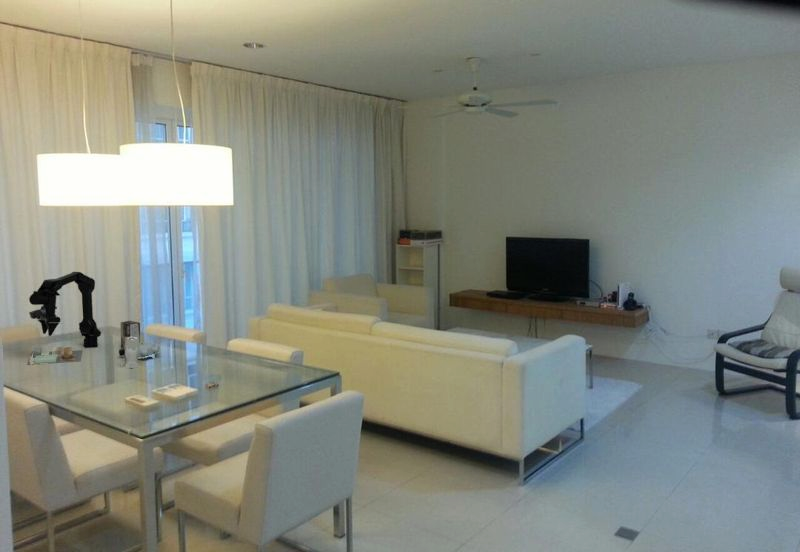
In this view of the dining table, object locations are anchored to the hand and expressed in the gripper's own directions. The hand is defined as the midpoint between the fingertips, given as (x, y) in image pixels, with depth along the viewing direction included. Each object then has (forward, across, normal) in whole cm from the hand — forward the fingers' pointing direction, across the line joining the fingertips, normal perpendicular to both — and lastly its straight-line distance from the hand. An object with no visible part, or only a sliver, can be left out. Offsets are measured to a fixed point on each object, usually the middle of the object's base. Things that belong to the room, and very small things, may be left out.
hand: (47, 334), depth 313 cm
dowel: (+12, +3, +10) cm, 16 cm away
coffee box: (+9, +2, +42) cm, 43 cm away
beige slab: (+12, -9, +10) cm, 18 cm away
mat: (+13, -4, +6) cm, 15 cm away
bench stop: (+12, -13, 0) cm, 18 cm away
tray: (+13, 0, 0) cm, 13 cm away
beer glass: (+13, +34, +30) cm, 48 cm away
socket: (+12, +3, +10) cm, 16 cm away
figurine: (+11, +19, +40) cm, 46 cm away
